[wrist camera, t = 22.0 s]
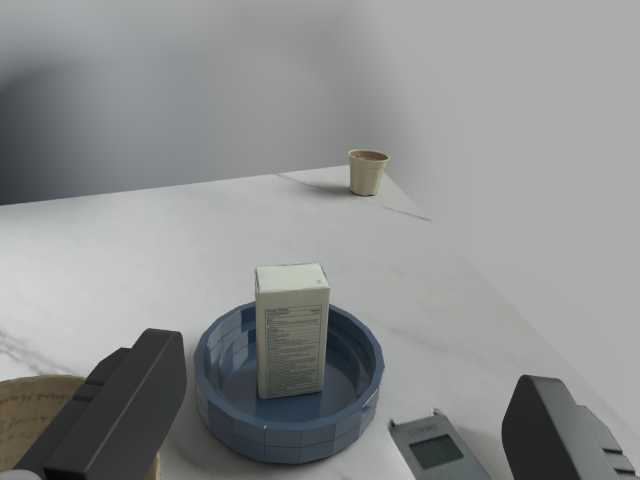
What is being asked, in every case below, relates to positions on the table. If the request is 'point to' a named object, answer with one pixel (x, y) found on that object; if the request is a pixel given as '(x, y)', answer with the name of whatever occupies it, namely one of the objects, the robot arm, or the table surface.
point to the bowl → (37, 414)
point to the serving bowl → (290, 411)
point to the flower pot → (366, 171)
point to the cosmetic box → (291, 328)
